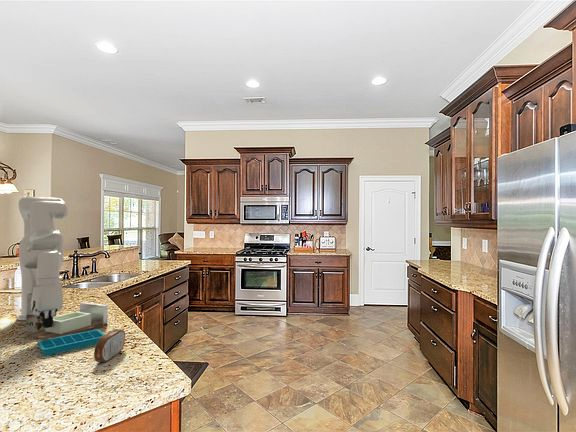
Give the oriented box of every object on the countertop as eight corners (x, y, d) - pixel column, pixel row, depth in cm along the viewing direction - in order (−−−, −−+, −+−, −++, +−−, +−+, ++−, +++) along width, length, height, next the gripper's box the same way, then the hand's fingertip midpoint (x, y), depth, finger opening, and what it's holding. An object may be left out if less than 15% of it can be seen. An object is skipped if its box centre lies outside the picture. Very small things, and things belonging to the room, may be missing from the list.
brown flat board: (26, 337, 134) (26, 334, 134) (83, 321, 156) (83, 318, 156) (51, 342, 127) (51, 339, 127) (107, 324, 149) (107, 322, 149)
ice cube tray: (37, 349, 121) (37, 341, 121) (98, 336, 135) (98, 329, 135) (41, 358, 113) (41, 349, 113) (106, 343, 127) (106, 335, 127)
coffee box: (37, 332, 139) (38, 294, 140) (25, 331, 141) (25, 293, 141) (56, 326, 148) (57, 290, 149) (45, 325, 150) (45, 289, 150)
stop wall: (79, 320, 154) (79, 302, 154) (83, 318, 156) (84, 301, 156) (103, 324, 148) (103, 306, 148) (107, 322, 149) (107, 305, 150)
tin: (118, 349, 120) (118, 325, 121) (126, 349, 120) (127, 325, 121) (92, 366, 105) (93, 340, 106) (102, 366, 105) (102, 340, 106)
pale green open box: (45, 331, 137) (45, 319, 138) (76, 322, 149) (76, 311, 149) (60, 334, 133) (60, 321, 134) (91, 325, 145) (91, 313, 145)
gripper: (61, 278, 143) (60, 321, 142) (21, 284, 129) (21, 331, 128) (72, 279, 140) (72, 323, 139) (33, 285, 126) (32, 334, 125)
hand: (47, 327), depth 134 cm, fingers closed
